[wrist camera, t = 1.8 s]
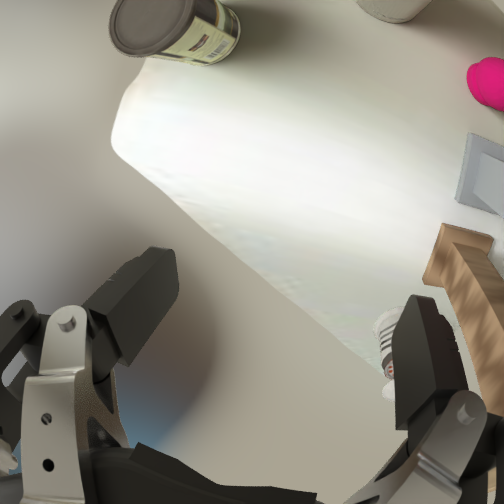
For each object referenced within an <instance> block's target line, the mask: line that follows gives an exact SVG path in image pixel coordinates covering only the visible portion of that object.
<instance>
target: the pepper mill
mask: <svg viewBox="0 0 504 504" xmlns="http://www.w3.org/2000/svg"><path fill="white" fill-rule="evenodd" d="M467 83H468V87H469V89H470V92H471V93H472V95H473V96H474V98H475V99H476V100H477V101H478V102H480V103H481V104H483V105H486V106H491V107H493V108H494V109H496V110H499V111H503V112H504V60H503V59H500V58H496V57H488V58H485V59H483V60H482V61H481V62H480V63H475V64H473V65H471V66H470V68H469V69H468V72H467Z"/></svg>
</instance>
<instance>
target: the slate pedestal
mask: <svg viewBox="0 0 504 504" xmlns="http://www.w3.org/2000/svg"><path fill="white" fill-rule="evenodd" d="M455 200H456V201H457V202H458V203H461V204H465V205H468V206H472V207H475V208H478V209H481V210H485V211H488V212H491V213H494V214H497V215H500V216H501V217H502V218H503V219H504V147H502V146H500V145H498V144H496V143H494V142H491V141H489V140H487V139H484V138H482V137H479V136H477V135H474V134H472V133H468V136H467V143H466V149H465V154H464V160H463V165H462V170H461V174H460V179H459V183H458V187H457V191H456V195H455Z"/></svg>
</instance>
